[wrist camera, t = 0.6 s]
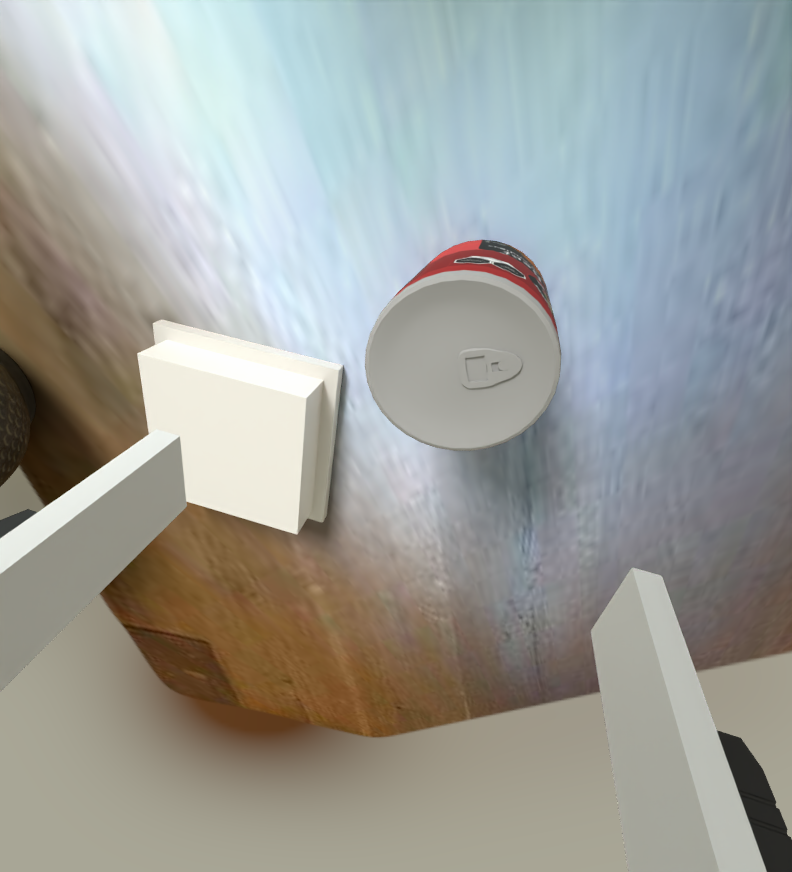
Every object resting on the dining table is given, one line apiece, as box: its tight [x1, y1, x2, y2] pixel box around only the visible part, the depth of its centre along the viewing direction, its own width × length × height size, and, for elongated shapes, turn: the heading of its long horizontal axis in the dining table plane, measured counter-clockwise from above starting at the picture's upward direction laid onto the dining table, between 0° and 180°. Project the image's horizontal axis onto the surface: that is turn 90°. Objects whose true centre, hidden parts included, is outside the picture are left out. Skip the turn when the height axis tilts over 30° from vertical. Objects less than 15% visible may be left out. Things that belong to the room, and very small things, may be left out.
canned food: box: [365, 240, 561, 451], centre depth 23 cm, size 8×8×11 cm
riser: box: [137, 320, 343, 534], centre depth 34 cm, size 14×14×4 cm
